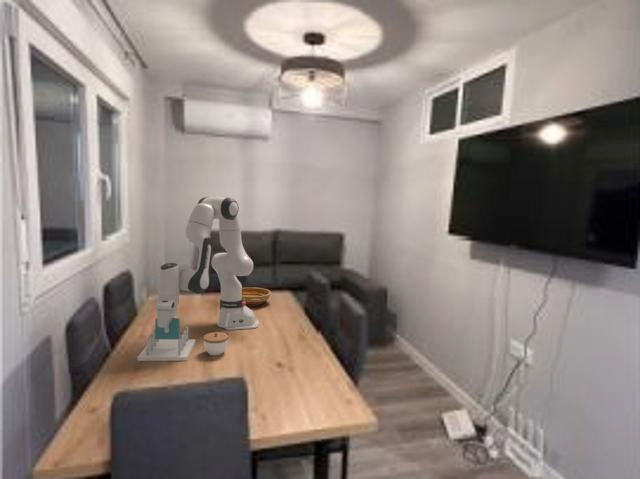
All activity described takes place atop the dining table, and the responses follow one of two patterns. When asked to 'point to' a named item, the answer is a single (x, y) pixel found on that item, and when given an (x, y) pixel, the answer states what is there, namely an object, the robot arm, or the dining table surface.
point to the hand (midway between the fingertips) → (168, 330)
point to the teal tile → (173, 330)
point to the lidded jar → (215, 343)
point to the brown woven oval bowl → (255, 295)
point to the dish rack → (167, 348)
